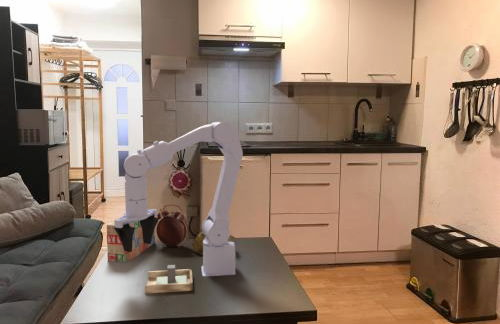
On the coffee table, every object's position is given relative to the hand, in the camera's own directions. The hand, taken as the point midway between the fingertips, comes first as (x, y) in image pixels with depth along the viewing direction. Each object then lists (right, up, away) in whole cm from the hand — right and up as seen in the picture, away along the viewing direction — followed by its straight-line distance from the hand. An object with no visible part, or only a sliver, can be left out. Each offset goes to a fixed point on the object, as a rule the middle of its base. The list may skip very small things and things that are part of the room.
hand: (137, 247), depth 111 cm
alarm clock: (+4, -7, +31) cm, 32 cm away
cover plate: (+10, -9, -2) cm, 14 cm away
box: (+9, -10, -2) cm, 14 cm away
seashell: (+18, -7, +27) cm, 33 cm away
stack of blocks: (-9, -7, +25) cm, 28 cm away
